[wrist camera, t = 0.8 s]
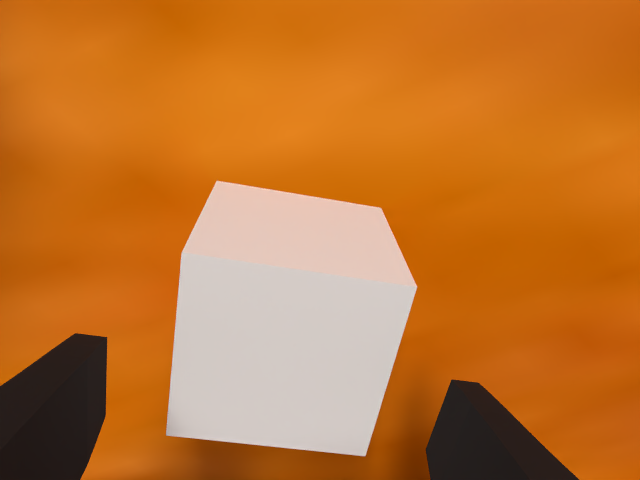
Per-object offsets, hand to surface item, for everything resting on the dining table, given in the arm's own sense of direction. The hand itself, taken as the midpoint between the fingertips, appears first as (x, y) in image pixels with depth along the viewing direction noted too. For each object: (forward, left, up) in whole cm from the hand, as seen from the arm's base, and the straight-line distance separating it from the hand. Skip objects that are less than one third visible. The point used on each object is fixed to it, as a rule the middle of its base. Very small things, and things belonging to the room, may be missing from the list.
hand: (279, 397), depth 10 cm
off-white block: (0, 0, -6) cm, 6 cm away
